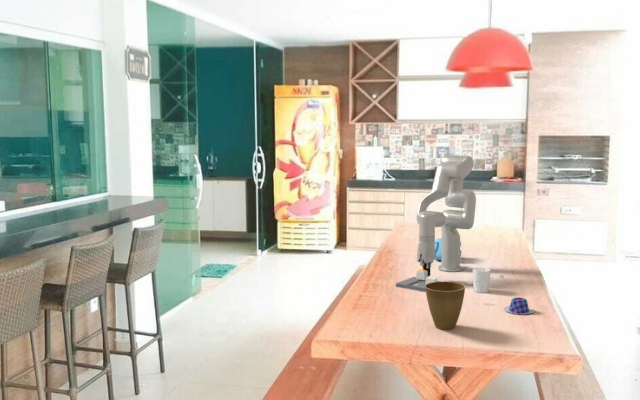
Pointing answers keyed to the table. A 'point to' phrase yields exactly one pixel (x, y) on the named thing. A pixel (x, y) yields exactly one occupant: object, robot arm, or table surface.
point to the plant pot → (445, 303)
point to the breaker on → (430, 280)
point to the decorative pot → (439, 249)
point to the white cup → (481, 279)
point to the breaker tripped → (421, 274)
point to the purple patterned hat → (519, 306)
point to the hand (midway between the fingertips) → (426, 275)
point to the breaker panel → (413, 284)
